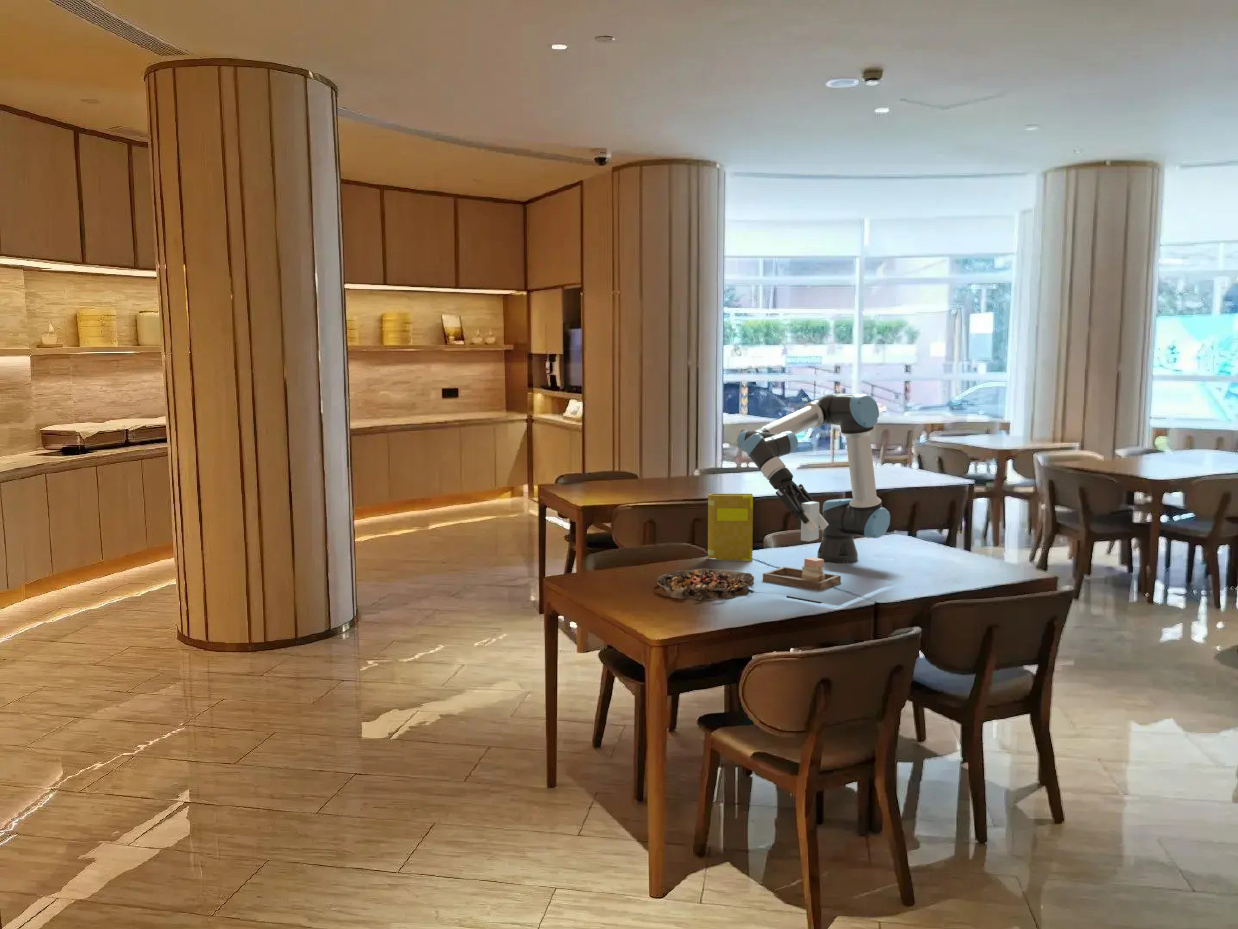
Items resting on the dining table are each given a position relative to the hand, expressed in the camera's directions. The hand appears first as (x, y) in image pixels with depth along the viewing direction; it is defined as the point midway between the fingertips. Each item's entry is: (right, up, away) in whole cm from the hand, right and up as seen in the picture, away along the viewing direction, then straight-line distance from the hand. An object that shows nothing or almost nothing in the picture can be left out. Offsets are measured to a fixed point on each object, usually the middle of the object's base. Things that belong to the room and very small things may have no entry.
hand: (820, 528), depth 306 cm
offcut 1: (+1, -14, +17) cm, 22 cm away
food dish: (-35, -22, +17) cm, 44 cm away
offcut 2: (+1, -17, +17) cm, 24 cm away
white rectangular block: (-3, -4, +3) cm, 5 cm away
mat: (-2, -22, +4) cm, 23 cm away
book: (-22, -16, +63) cm, 69 cm away
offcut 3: (+1, -20, +17) cm, 26 cm away
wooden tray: (-2, -21, +20) cm, 29 cm away
